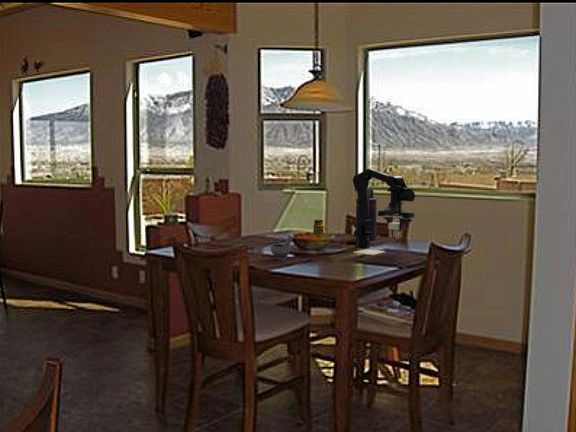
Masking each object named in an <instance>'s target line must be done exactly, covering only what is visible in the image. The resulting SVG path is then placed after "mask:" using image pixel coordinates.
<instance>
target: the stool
mask: <svg viewBox="0 0 576 432" xmlns="http://www.w3.org/2000/svg"><path fill="white" fill-rule="evenodd" d="M387 227H388V228H387V229H388V237H389V238H391V239H392V238H395V239H399V238H403V229H404V227H403V228H402V231H400V229H399V228H400V222H399V221H398V222H396V221H393V222H392V223H387Z"/></svg>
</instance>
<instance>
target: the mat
mask: <svg viewBox="0 0 576 432" xmlns="http://www.w3.org/2000/svg"><path fill="white" fill-rule="evenodd" d="M353 253H354V254H359V255H360V254H361V255H367V256H376V255H379V254H385V253H386V250H378V249H370V248H369V249H368V248H363V249H361V250H356V251H353Z"/></svg>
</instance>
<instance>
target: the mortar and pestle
mask: <svg viewBox="0 0 576 432" xmlns="http://www.w3.org/2000/svg"><path fill="white" fill-rule="evenodd" d="M293 239H294V236H293V235H290V234H288V236H287V238H286V240H285V241H284V243H277V244H271V245H270V252H271V254H272V255H273V256H274V260H275V259H278V260H277V261H286V260H285V259H287V260H288V256H289V254H290V253H291V247H292V245H291V243H292V241H293Z"/></svg>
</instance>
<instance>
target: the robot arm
mask: <svg viewBox="0 0 576 432" xmlns="http://www.w3.org/2000/svg"><path fill="white" fill-rule="evenodd" d="M373 178H374V179H377V180H379V181H381V182H384V183H385V184H386V185H387V186H388V187H389V188H388V189H387V191H386V192H389V193H390V195H389V196H390V197H389V198H390V202H389V203H388V206H386V207H385V208H384V209H382V210H378V211H377V217H382V218H383V219H384V220H385V221H386V224H388V223H392V222H394V221H393V220H394V217H399V218H398V220H399V221H398V222H399V223H400V228H399V229H400V231H402V232H403V229H404V226H405V224H406V223H407V220H409V219H413V218H415V213H414V211H403V210H402V206H403V205H404V203H403V202H409V203H412V202H414V201H415V198H416V194H415V191H413V188H411V187H409V188H408V185H407V184H406V182H405V181H404V177H403V176H402V175H392V174H388V173H386V172H383V171H380V170H377V169H375V168H373V167H371V168H367V169H365V170H363V171H361V172H359V173H358V174H355V175H354V176H353V177H352V185H353V187H354V189H355V191H356V193H357V198H358V205H359V215H360V218H359V221H358V225H357V229H356V228H355V230H354V231H353V236H354V237H355V238H356V239H355V242H356V243H355V245H354V248H361V249H368V248H371V244H370V241H371V240H370V239H369V236H371V234H372V231H373V227H374V225H373V220H371V219H370V218H369V213H368V203H367V192H366V190H367V189H369V188H368V187H369V182H370V181H371V180H372V179H373ZM402 228H403V229H402Z"/></svg>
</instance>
